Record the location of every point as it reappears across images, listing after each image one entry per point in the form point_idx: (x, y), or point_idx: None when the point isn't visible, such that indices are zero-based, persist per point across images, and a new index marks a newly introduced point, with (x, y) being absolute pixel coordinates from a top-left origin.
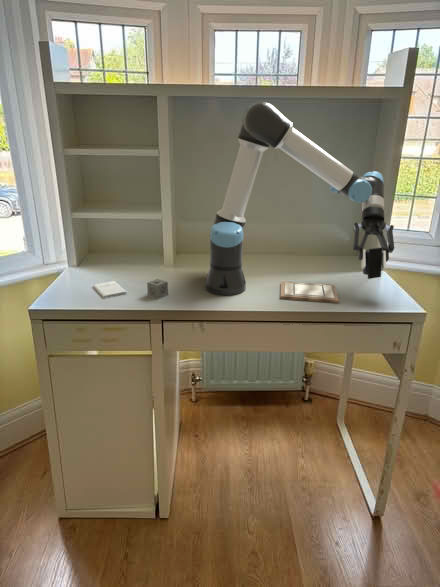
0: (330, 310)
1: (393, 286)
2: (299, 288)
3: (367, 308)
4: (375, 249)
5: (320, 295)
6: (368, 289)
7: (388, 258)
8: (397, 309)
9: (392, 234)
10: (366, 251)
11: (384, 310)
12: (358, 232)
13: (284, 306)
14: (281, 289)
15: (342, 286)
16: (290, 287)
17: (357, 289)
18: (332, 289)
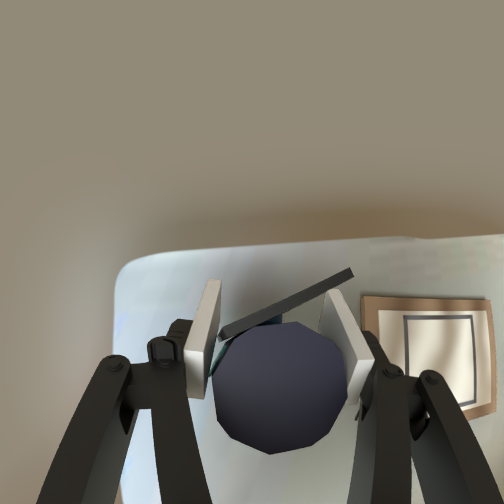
0: (381, 245)
1: (122, 470)
2: (464, 365)
3: (276, 267)
4: (293, 299)
5: (415, 322)
6: (229, 443)
7: (173, 325)
8: (180, 267)
9: (49, 482)
10: (334, 383)
11: (225, 257)
12: (471, 486)
13: (470, 259)
14: (494, 347)
15: (326, 456)
16: (481, 365)
17: None
18: None
